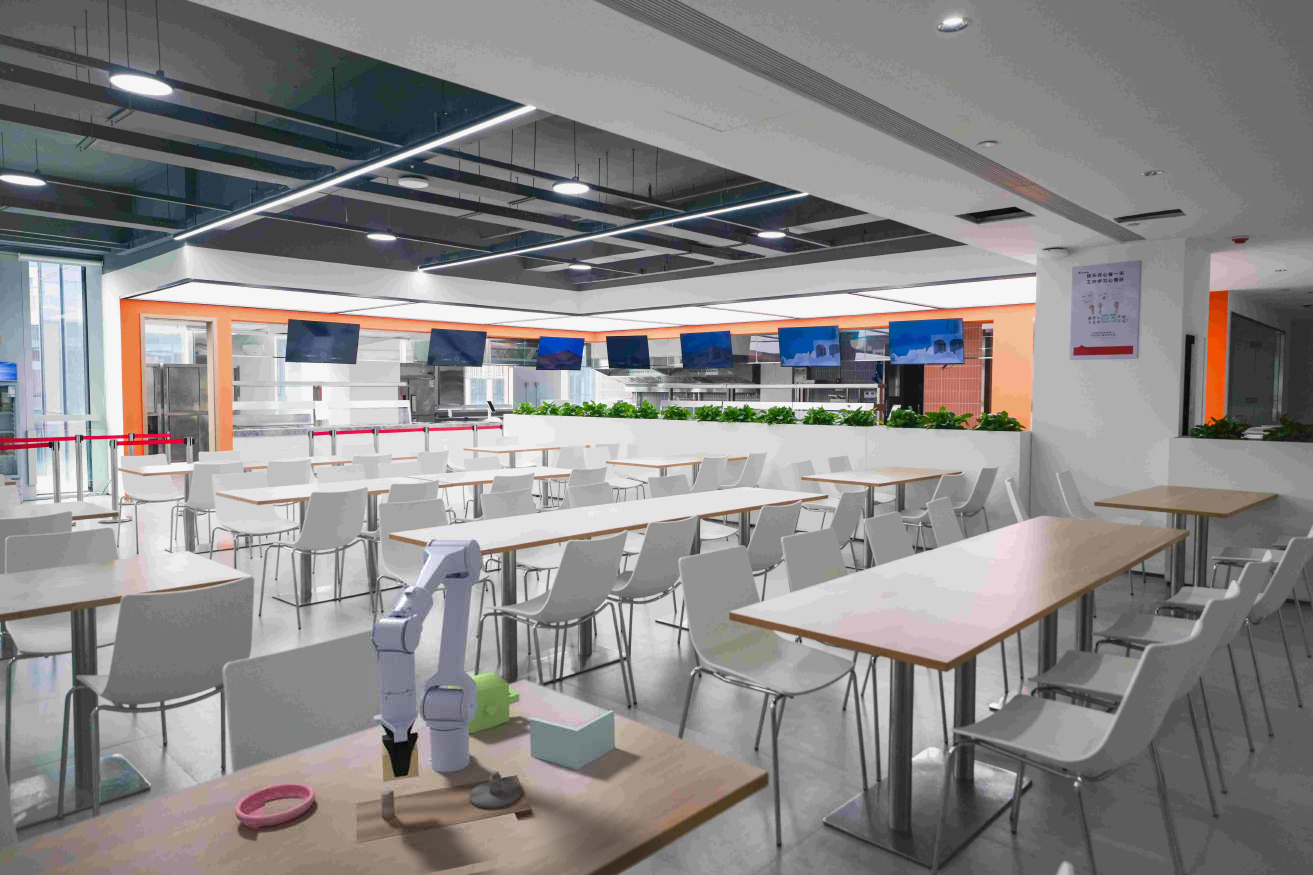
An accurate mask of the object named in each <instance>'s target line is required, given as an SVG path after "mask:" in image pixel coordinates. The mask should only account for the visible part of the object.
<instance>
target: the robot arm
mask: <svg viewBox="0 0 1313 875" xmlns="http://www.w3.org/2000/svg"><path fill="white" fill-rule="evenodd" d="M482 554H483V553H482V551H481V545H480V544H479V542H478V541H477V539H473V538H472V539H456V540H454V539H436V538H434V539H433V538H432V539H430V540H429V541H427V543H426V544H425V546H424V549H423V555H422V556H423V566H422V569H421V571H420V572H419V575H418V577H417V579H416V581H415V583H414V585H412V586H409V587H406V588H405V589H404V590H403V592H402V593H401V595H400V596H399V598H398V599H397V601H396V603H395V604H394V605H393V607H392V608H391V611H389V613H388V615H387V616H384V617H381V619H378V620H377V621H376V622H375V624H374V625H373V629H372V632H371V637H370V644H371V648H372V649H373V652H374V654H375V655H374V660H375V661H376V663H377V664H378V671H379V672H378V674H379V697H380V698H379V699H380V700H379V701H380V714H376V715H374V716H373V723H374V724H380V725H381V727H382V728H383V730H384V732H385V734H384V735H381V743H382V742H383V744H384V746H385V747H386V749H387V751H388V753H389V756H390V760H391V764H392V769H393V773H394V776H395V777H401V776H407V775H408V773H409V768H410V761H411V755H412V751H413V748H414V745H415V743H416V741H417V742H418V739H419V733H418V732H417V731H416V732H412V730H413V726H414V724H415V721H416V720H417V718H418V716H420V718H421V720H423V721H424V722H425V723H426V724H425V726H426V727H428V728H429V735H430V736H429V737H430V738H429V740H430V741H429V742H430V744H429V745H430V757H428V758H427V759H426V761H427V762H430V767H431V769H432V770H433V771H434V772H438V773H451V772H457V771H460V770H462V769H465V768H466V767H467V766H469V764H470V738H469V736H470V734H469V729H468V723H470V722H471V721H472V719H473V718H474V717H475V714H476V711H477V704H478V700H477V685H476V682H475V681H474V680H473V679H472V678H471V677H472V676H470V675H469V674H468V673H467V672H466V671H465V662H466V651H467V641H468V630H469V619H470V618H469V617H470V609H471V599H472V598H471V597H472V588H473V586H474V585H475V584H476V583H479V582H480V576H481V569H482V568H481V567H482V558H483V557H482ZM440 585H443V586H444V588H445V599H444V608H443V615H442V616H443V618H442V627H441V634H440V635H441V637H440V646H439V656H438V665H437V666H438V667H437V671H435V673H433V674H432V675H431V676H430V677H429V678H427V679H426V680H425V681H424V684H423V689H422V694H421V696H420V699H419V704H418V710H417V695H416V694H417V691H416V666H415V664H416V660H415V659H416V658H415V656H416V655H415V651H416V650H417V648H418V647H419V644H420V641H421V637H422V636H421V634H422V632H423V628H424V626H423V623H424V622H425V620H426V618H427V616H429V613H430V611H431V610H432V608H433V605H434V598H433V595H434V593H435V592H436V591H437V589H438V588H439V586H440ZM442 686H444V688H443V687H442ZM445 686H447V688H446V687H445ZM448 686H458V687H460V688H462V689H448ZM441 687H442V688H441ZM418 711H419V712H418ZM418 713H419V715H418Z"/></svg>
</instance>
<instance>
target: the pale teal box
mask: <svg viewBox="0 0 1313 875" xmlns="http://www.w3.org/2000/svg"><path fill="white" fill-rule="evenodd" d="M615 726H616V725H615V710H611V709H610V710H608V711H607V712H604V713H602V714H600V715H599V716H597V717H596V718H593V719H591V720H590V721H588V722H586V723H584V724H582V725H580V726H578V727H574V726H570V725H565V724H562V723H557V722H553V721H550V720H546V719H541V718H538V717H537V718H536V717H531V718H529V734H530V735H529V739H530V740H529V741H530V757H532V758H536V759H540V760H542V761H547V762H550V763H553V764H557V765H559V766H563V767H567V768H570V769H573V770H580V769H582V768H583V767H584V766H588V764H590V763H592V762H593V761H595V760H597V759H599V758H600V757H602V756H604V754H606V753H608V752H610V751H611V750H613V749H615V748H616V735H615V734H616V733H615V732H616V731H615Z"/></svg>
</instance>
